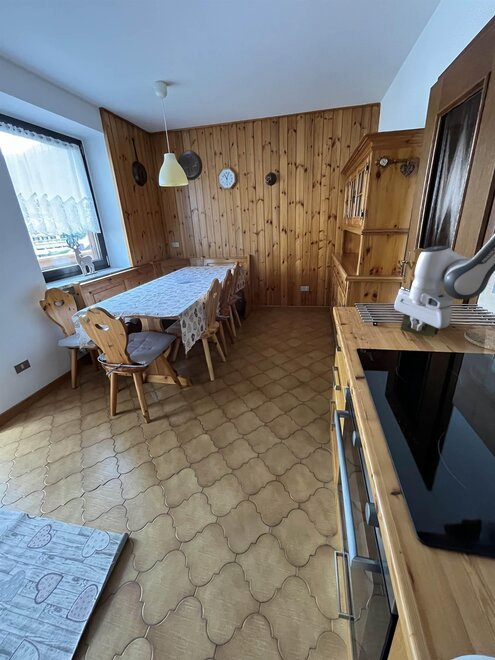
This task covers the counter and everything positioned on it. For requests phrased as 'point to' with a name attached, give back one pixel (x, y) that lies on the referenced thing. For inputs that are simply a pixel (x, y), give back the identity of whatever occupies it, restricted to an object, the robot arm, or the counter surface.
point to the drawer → (425, 330)
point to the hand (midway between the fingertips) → (415, 329)
